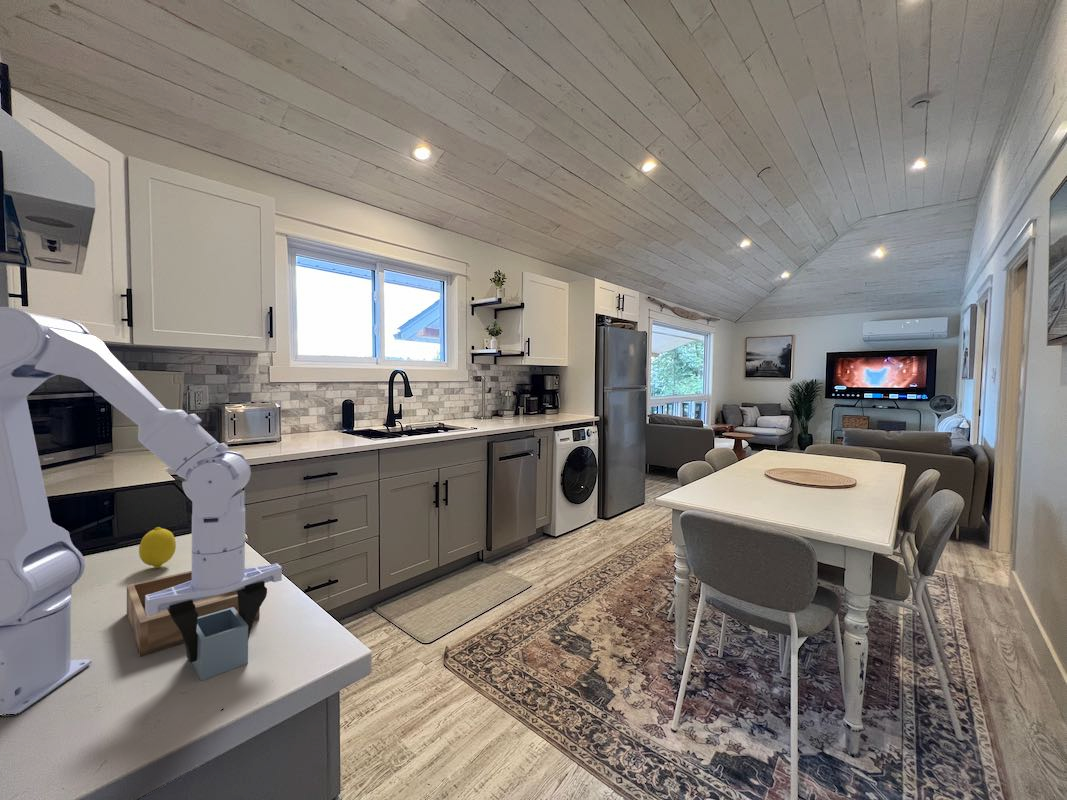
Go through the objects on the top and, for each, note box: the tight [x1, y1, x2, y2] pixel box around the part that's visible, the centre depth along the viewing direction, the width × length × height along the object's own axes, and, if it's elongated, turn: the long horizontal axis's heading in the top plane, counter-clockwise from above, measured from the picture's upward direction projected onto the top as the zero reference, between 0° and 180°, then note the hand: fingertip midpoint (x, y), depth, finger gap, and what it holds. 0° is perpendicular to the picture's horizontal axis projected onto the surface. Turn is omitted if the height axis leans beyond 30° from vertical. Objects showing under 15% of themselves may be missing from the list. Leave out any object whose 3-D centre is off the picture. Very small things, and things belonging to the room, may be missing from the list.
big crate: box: [126, 570, 261, 657], centre depth 70 cm, size 16×14×4 cm
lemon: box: [138, 526, 177, 569], centre depth 88 cm, size 6×6×8 cm
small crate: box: [191, 607, 249, 682], centre depth 59 cm, size 7×5×5 cm
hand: (218, 649), depth 59 cm, fingers closed on small crate, 5 cm apart
